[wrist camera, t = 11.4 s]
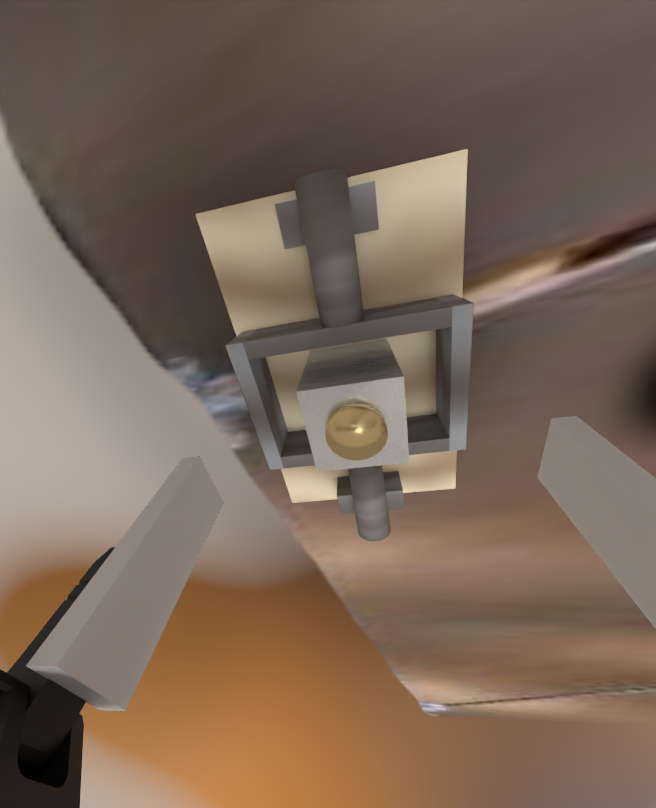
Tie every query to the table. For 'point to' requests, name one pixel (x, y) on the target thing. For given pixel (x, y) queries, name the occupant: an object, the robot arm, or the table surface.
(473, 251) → the table surface
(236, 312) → the shaft bench
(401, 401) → the block
